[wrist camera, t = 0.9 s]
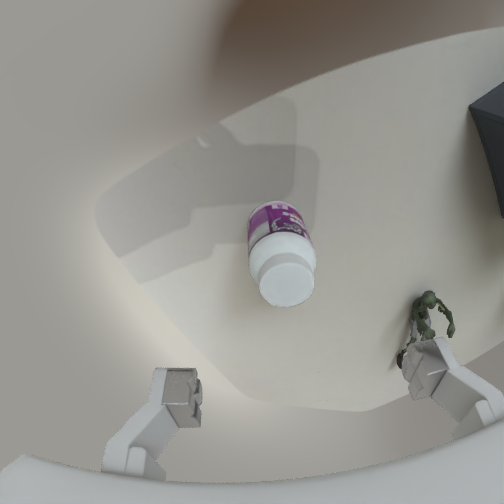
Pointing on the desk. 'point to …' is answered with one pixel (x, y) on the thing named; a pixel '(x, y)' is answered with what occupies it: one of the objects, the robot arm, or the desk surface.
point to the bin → (492, 134)
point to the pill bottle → (280, 254)
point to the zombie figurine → (425, 320)
